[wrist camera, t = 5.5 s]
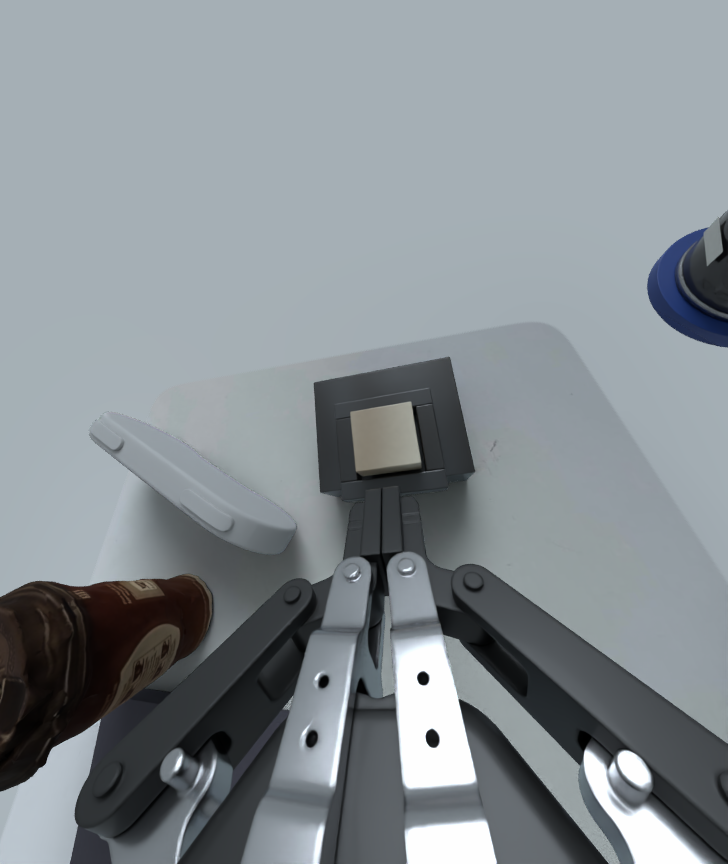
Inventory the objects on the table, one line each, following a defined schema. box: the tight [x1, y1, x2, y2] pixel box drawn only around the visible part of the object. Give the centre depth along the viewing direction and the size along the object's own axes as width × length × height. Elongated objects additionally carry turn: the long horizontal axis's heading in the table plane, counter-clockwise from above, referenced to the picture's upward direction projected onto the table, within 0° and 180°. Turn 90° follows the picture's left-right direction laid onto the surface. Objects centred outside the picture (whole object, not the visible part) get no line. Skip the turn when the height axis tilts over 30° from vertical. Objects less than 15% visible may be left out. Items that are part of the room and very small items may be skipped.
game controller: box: [89, 412, 297, 555], centre depth 24 cm, size 20×2×8 cm, turn 59°
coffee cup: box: [0, 574, 212, 791], centre depth 19 cm, size 9×8×13 cm
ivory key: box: [350, 402, 422, 477], centre depth 20 cm, size 4×4×2 cm
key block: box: [314, 357, 475, 502], centre depth 23 cm, size 11×10×6 cm
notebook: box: [70, 689, 290, 864], centre depth 20 cm, size 13×2×21 cm
